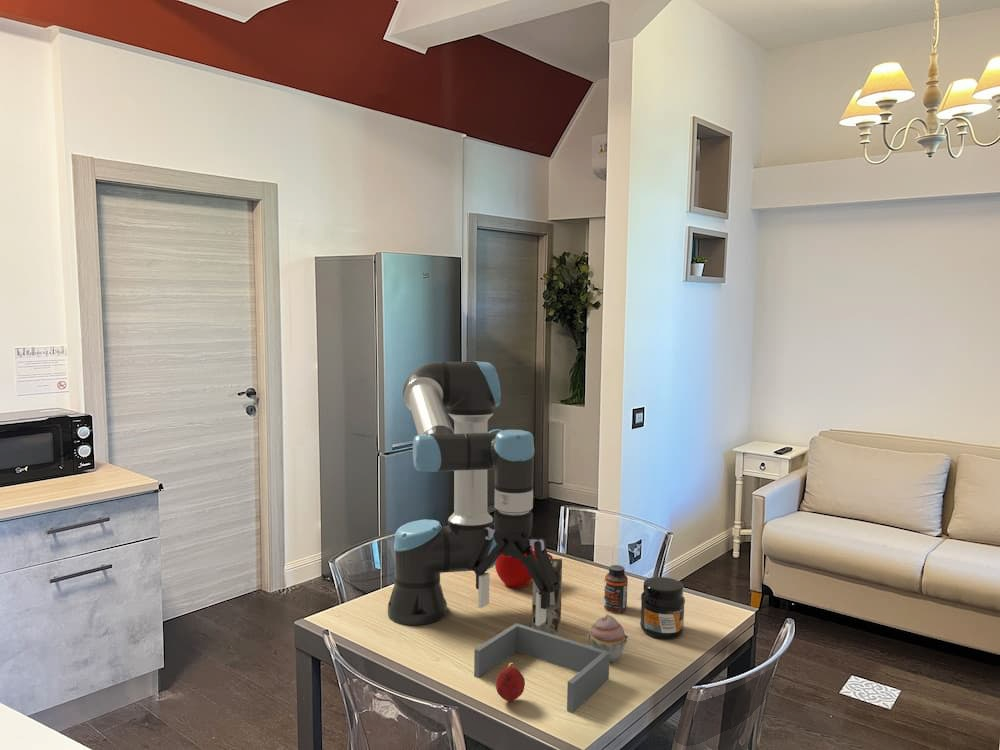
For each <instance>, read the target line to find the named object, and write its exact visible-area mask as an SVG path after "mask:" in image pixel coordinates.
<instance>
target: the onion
mask: <svg viewBox="0 0 1000 750" xmlns="http://www.w3.org/2000/svg"><path fill="white" fill-rule="evenodd" d="M525 680H526V679H525V678H524V675H523V674H522V671H520V670H519V669H517V668H516V667H515V663H513V662H509V663H508V664H507V666H506V667H504V668H503V669H501V670H500V671H499V673H498V674H497V677H496V678H495V688H496V692H497V694H498V695H499V697H501V699H503V700H505V701H506V702H508V703H513V701H515V700H518V698H519V697H521V696H522V694H523V693H524V690H525V685H526V681H525Z"/></svg>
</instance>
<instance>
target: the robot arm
mask: <svg viewBox="0 0 1000 750" xmlns="http://www.w3.org/2000/svg"><path fill="white" fill-rule="evenodd" d="M501 393H502V391H501V386H500V380H499V376H498V372H497V370H496V367H495V366H494V365H493V364H492V363H490V362H487V361H476V360H475V361H473V360H472V361H471V360H470V361H434V362H433V361H432V362H429V363H426V364H423V365H421V366H419V367H418V368H416V369H415V370H414V371H413V372H412V373H411V374H410V375H409V376H408V378H407V379H406V381H405V382H404V384H403V389H402V396H403V397H402V398H403V402H404V404H405V406H406V408H407V409H408V410H409V411H410V412H411V414H412V418H413V422H414V424H415V429H416V432H417V435H416V436H414V438H413V442H412V459H413V461H412V462H413V467H414V469H415V470H416V471H417V472H431V473H436V472H454V473H453V474H454V475H453V477H454V479H453V481H454V482H453V483H454V484H453V485H454V487H453V491H454V492H453V493H454V494H453V500H454V501H453V506H454V507H453V510H454V511H453V513H452V514H451V515H450V516H449V517H448V520H447V523H448V525H445V526H443V525H442V524H441V523H440V521H438V520H436V519H428V518H427V519H419V520H413V521H410V522H409V521H408V522H407V523H405V524H403V525H401V526H400V527H398V528H397V530H396V532H395V535H394V545H393V549H394V584H393V585H394V586H393V588H392V591H391V594H390V597H389V598H390V599H389V600H388V604H387V616H388V618H389V619H390V620H391V621H393V622H394V623H395V622H396V623H397V624H401V625H408V626H409V625H411V626H419V625H420V626H422V625H428V624H432V623H436V622H438V621H440V620H442V619H443V618H444V617H446V615H447V613H448V609H447V608H448V607H447V606H448V605H447V600H446V598H445V597H444V593H443V591H444V590H443V589H442V584H441V574H443V573H458V572H459V573H461V572H470V571H471V572H472V571H473V572H474V573H475V589H476V590H478V599H477V601H478V608H480V609H482V608H485V607H486V606H489V605H490V579H491V578H490V575H491V574H490V572H487V571H488V570H490V569H492V568H493V567H495V563H496V561H497V558H498V557H499V556H500V555H501V554H503V556H510V557H512V558H515V559H517V558H518V559H519V560H520V562H521V563H523V564H524V566H525V567H526V569H527V571H528V572H529V574H530V576H531V577H532V582H533V581H534V582H535V584H536V586H537V587H538V589H539V591H538V592H536V618H535V625H536V626H540V625H541V624H543V623H544V622H546V608H548V607H549V606H550V592H551V593H552V592H554V591H555V590H557V589H558V588H559V587H560V585H559V582H558V579H557V577H556V574H555V571H554V569H553V566H552V563H551V561H550V557H549V556H548V554H549V553H548V551H547V541H546V539H545V538H540V539H534V538H533V536H532V532H533V531H532V530H533V515H534V514H533V511H532V510H533V507H534V466H535V464H534V461H535V460H534V459H535V458H534V457H535V451H536V449H535V443H534V440H535V439H534V435H533V433H532V432H530V431H526V430H523V429H504V430H503V429H498V428H496V429H492V430H489V431H488V428H489V427H488V420H489V419H490V418H491V417H492V416H494V408H497V407H499V406H500V405H501V397H502V395H501ZM446 408H447V409H448V413H447V410H446ZM449 417H451V419H452V420H453V422H454V424H453V425H454V429H453V426H452V423H451V421H450V418H449ZM488 470H494V503H493V504H494V509H495V510H494V512H493V516H492V515H491V514H490V513H489V511H488ZM531 546H532V547H533V548H532V550H533V551H535V556H536V559H537V561H536V560H535V558H534V553H533V552H532V550H531V548H530V547H531ZM525 553H526V554H527V556H524V555H525ZM537 562H538V563H537ZM538 564H539V565H538Z"/></svg>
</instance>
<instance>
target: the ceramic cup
mask: <svg viewBox="0 0 1000 750" xmlns="http://www.w3.org/2000/svg"><path fill="white" fill-rule="evenodd" d="M530 548H531V550H532V548H533V547H532V546H531V547H530ZM532 552H533V553H534V558H535V560H536V561H537V559H536V556H535V551H533V550H532ZM524 556H527V554H526V553H525V555H524ZM548 556H549V558H553V559H554V557H553V556H552V555H551V554H550V553H548ZM494 567H495V570H496V573H497V575H498V578H500V580H501V581H502V583H504V585H505V586H506V587H509V588H514V589H516V588H517V589H518V588H519V589H520V588H524V587H526V586H527V585H528V584H529V583H530V582H531V581H533V579H532V577H531V576H530V574H529V572H528V571H527V569H526V567H525V566H524V564H523V563H521V562H520V560H519V559H518V558H517V559H515V558H512V557H510V556H503V554H501V555H500V556H499V557H498V558H497V561H496V563H495V565H494Z"/></svg>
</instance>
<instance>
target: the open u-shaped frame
mask: <svg viewBox="0 0 1000 750" xmlns="http://www.w3.org/2000/svg"><path fill="white" fill-rule="evenodd" d="M517 652H519V653H521V654H523V655H526V656H530V657H533V658H536V659H538V660H541V661H545V662H548V663H551V664H554V665H556V666H559V667H562V668H566V669H568V670H572V671H575V672H577V673H576V674H575V675H574V676H573V677H572V678H570V679H569V680H568V681H567V693H566V695H567V697H566V711H567V712H569V713H573V714H574V712H575V711H576V710H577V709H578V708H579V707H581V706H582V704H584V703H585V702H586V701H587V700H588V699H589V698H591V696H592V695H594V694H595V692H597V691H598V690H599V689H600V688H601V687H602V686H603V685H604V684H605V683H606V682H607V681H609V679H610V662H609V660H610V652H607V651H604V650H601V649H598V648H594V647H591V645H587V644H584V643H581V642H577V641H574V640H571V639H568V638H565V637H561V636H559V635H553V634H549V633H546V632H543V631H540V630H537V629H533V628H532V627H530V626H527V625H523V624H521V623H517V622H515V623H514V624H511V625H510V626H509V627H507V628H506V629H504V630H503V631H501V632H499V633H498V634H496V635H494V636H493V637H492V638H490V639H488V640H486V641H485V642H484V643H482V644H481V645H479V646H477V647H475V648H474V654H473V655H474V660H473V661H474V662H473V663H474V664H473V667H474V670H473V672H474V673H473V675H474V677H476V678H480V677H482V676H483V675H485V674H487V672H489V671H490V670H492V669H494V668H495V667H496V666H498V665H499V664H501V663H502V662H503V661H505V660H506V659H508V658H509V657H511V656H513V655H514V654H516V653H517Z"/></svg>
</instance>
